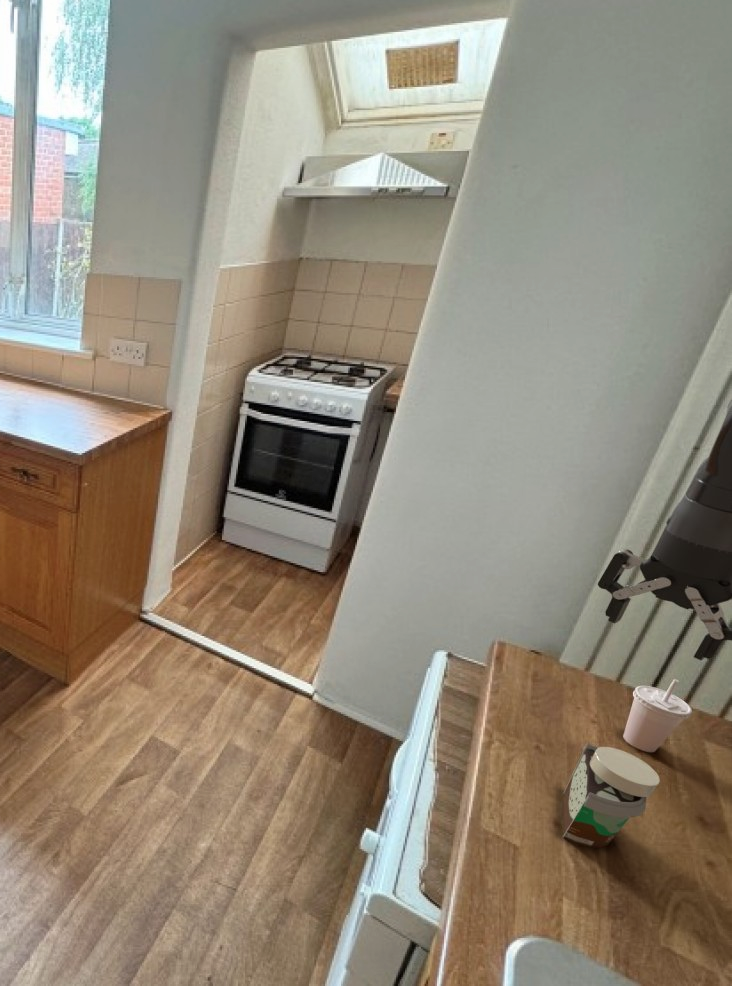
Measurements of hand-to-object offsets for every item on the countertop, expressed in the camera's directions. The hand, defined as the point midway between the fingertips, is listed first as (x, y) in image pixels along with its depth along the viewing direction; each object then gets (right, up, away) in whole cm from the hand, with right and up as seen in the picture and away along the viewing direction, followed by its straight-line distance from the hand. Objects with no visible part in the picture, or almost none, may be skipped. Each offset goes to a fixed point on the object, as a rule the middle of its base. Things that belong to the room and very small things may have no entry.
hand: (654, 638), depth 82 cm
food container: (-6, -29, +3) cm, 29 cm away
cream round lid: (-6, -19, -1) cm, 20 cm away
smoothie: (+17, -23, +17) cm, 34 cm away
